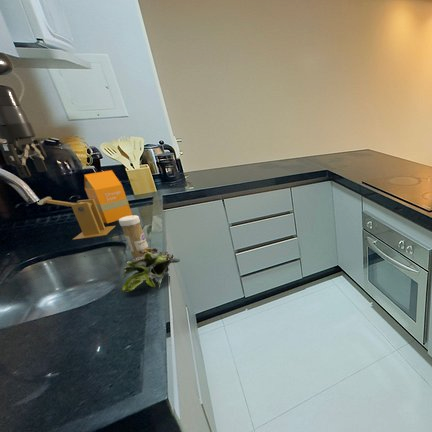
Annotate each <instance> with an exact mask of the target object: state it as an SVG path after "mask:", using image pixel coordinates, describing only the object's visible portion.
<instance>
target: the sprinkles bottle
mask: <svg viewBox="0 0 432 432" xmlns="http://www.w3.org/2000/svg"><path fill="white" fill-rule="evenodd" d="M118 223H119V226H120V227H121V229H122V232H123V235H124V238H125V241H126V244H127V246H128V249H129V251H130V253H131V256H132V261H134V259H136V258H137V257H138V258H139V257H141V256H143V257H144V255H143V254H141V253H139V252H140V251H144V250H145V251H146V249H150V248H149V244H148V242H147V238H146V235H145V234H144V230H143V228H142V225H141V220H140V217H139V215H137V214H132V215H131V216H126V217H122V218H120V219H119V220H118Z"/></svg>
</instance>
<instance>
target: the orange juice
mask: <svg viewBox="0 0 432 432" xmlns="http://www.w3.org/2000/svg"><path fill="white" fill-rule="evenodd" d="M83 176H84V177H83V180H84V191H85V193H86V195H87V198H88V200H89V199H94V200H95V203H96V205H97V208H98V210H99V213H100V215H101V218H102V221H103V223H104V224H110V223H113V222H116V221H119V219H120V218H122V217H126V216H131V215H133V212H132V210H131V206H130V204H129V201H128V198H127V195H126V192H125V188H124V186H123V184H122V182H121V180H119V178H118V177H117V176H116V174H115V173H114V171H113V170H112V169H109V170H104V171H103V170H102V171H98V172H92V173H86V174H84V175H83Z"/></svg>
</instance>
